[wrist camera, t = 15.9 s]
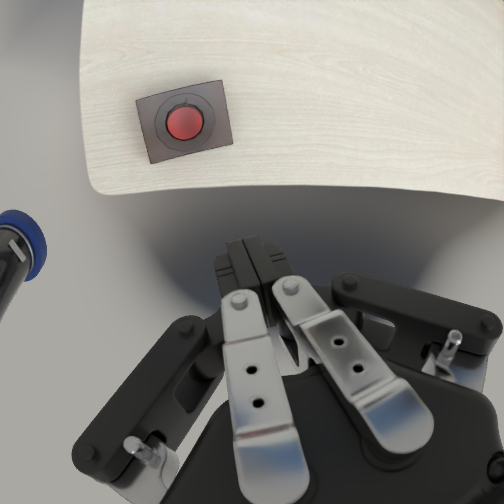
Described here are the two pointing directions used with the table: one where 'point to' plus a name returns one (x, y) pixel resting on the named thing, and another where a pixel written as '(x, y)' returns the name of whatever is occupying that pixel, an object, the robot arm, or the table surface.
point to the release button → (184, 122)
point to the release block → (196, 96)
